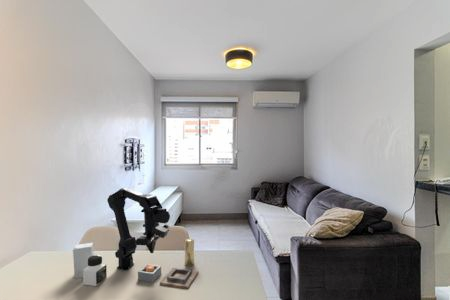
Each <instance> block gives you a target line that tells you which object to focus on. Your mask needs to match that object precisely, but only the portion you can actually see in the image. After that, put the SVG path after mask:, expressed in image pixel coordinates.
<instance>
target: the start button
mask: <svg viewBox="0 0 450 300" xmlns="http://www.w3.org/2000/svg"><path fill="white" fill-rule="evenodd" d="M152 265H153V264H151V265H150V266H147V267H146V272H153V271H154V266H152Z"/></svg>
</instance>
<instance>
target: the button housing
mask: <svg viewBox="0 0 450 300" xmlns="http://www.w3.org/2000/svg"><path fill="white" fill-rule="evenodd" d="M150 265H152V266H154V271H153V272H146V267H147V266H150ZM160 275H162V265H158V264H152V263H151V264H150V263H146V264H145V265H144V266H143V267H141V269H139V270H138V271H137V280H138V281H142V282H148V283H154V282H155V281H156V280H157V279H158V278H159V277H160Z"/></svg>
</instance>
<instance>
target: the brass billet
mask: <svg viewBox="0 0 450 300" xmlns="http://www.w3.org/2000/svg"><path fill="white" fill-rule="evenodd" d="M184 265H185V266H186V267H192V266H194V265H195V239H193V238H186V239H185V240H184Z"/></svg>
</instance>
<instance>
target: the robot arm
mask: <svg viewBox="0 0 450 300" xmlns="http://www.w3.org/2000/svg"><path fill="white" fill-rule="evenodd" d="M126 199H130V200H132V201H134V202H137V203H138V205H139V206H140V207H141V208H142V209H141V210H140V213H143V216H144V224H142V227H143V228H144V232H143V234H142V235H141V236H140V237H139V236H138V237H137V238H136V237H135V236H132V235H131V234H130V229H129V225H128V221H127V217H126V214H125V205H126ZM106 202H107V203H108V206H109V208H110V210H111V211H113V213H114V217H115V221H116V226H117V230H118V234H119V241H118V245H117V246H118V249H117V250H116V251H115V252H114V255H115V258H117V259H118V266H116V269H118V270H125V271H127V270H129V269H131V268H132V267H133V266H134V265H135V263H134V258H133V254H135V253H136V250H137V246H146V247H147V250H148V251H149V253H150V254H153V253H154V252H155V248H156V245H157V241H158V240H159V239H160V238H161V239H164V238H165V237H166V236H168V232H170V228H169V224H168V223H169V221H170V219H171V214H170V212H169V211H168V210H167V209H168V208H163V206H162V204H161V203H160V200H159V199H158V197H157V195H154V194H148V193H147V194H145V193H142V192H140V191H136V190H135V189H131V188H130V187H121V188H119V189H118V190H117V191H116V192H114V193H112V194H110V195H108V197H107V201H106ZM160 224H163V225H160Z"/></svg>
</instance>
